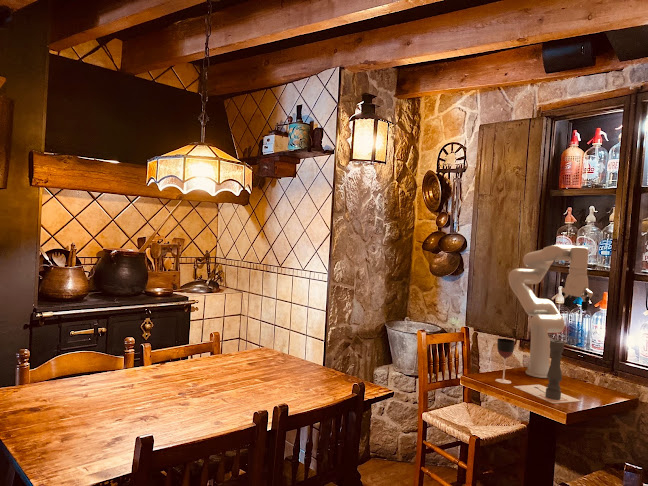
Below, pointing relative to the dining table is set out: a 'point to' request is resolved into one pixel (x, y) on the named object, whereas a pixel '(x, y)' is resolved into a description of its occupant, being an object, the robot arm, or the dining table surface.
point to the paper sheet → (541, 392)
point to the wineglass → (505, 353)
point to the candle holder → (555, 370)
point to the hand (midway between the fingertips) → (575, 308)
